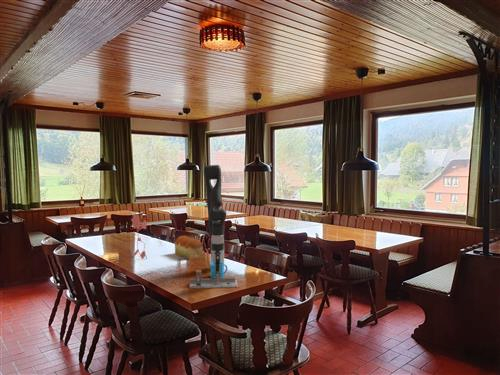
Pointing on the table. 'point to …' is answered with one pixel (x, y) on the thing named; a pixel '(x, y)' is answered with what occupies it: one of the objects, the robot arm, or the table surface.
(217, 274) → the sliding leg
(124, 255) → the table surface
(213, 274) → the mug
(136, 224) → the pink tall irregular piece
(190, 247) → the bread
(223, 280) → the pitch gauge
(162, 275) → the table surface
